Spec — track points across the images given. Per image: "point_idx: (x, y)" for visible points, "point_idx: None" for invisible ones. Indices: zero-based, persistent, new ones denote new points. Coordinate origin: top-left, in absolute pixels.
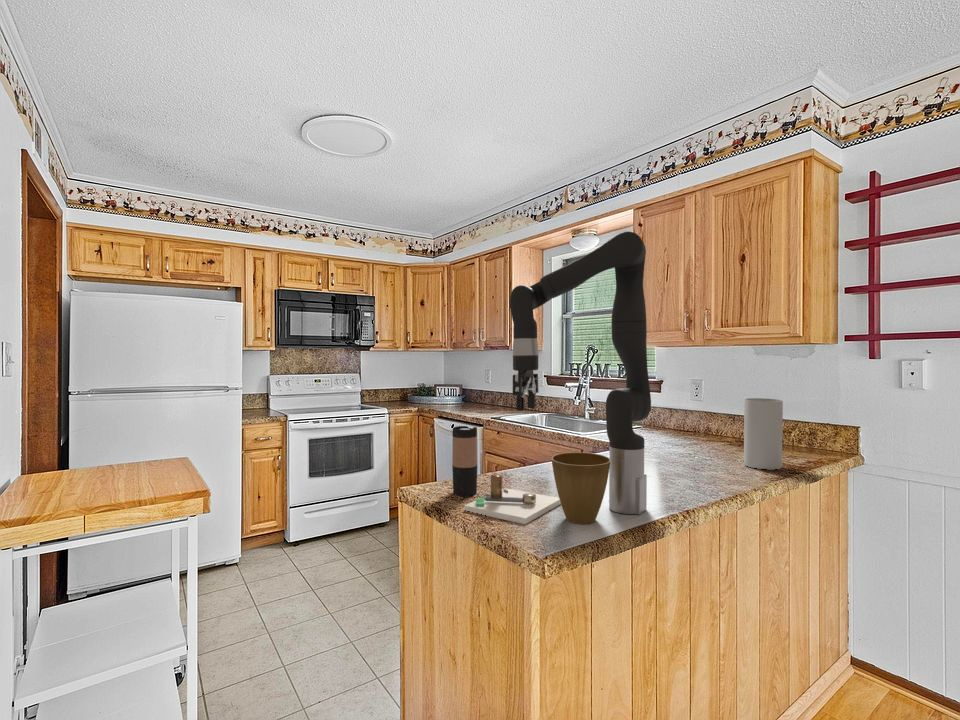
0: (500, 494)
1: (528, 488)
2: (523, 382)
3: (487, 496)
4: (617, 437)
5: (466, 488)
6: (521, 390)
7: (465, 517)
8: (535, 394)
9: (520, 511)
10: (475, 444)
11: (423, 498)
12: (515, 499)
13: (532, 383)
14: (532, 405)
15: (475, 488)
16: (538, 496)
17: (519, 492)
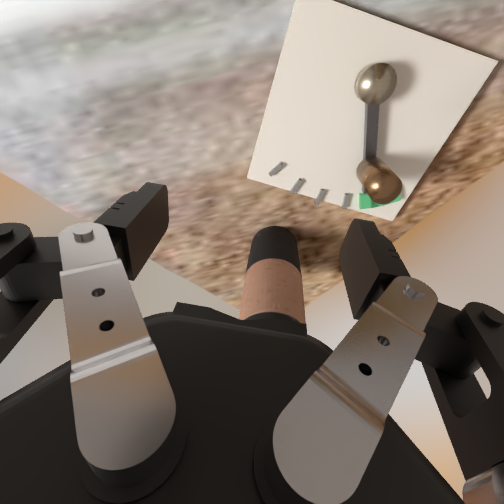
0: (382, 161)
1: (188, 129)
2: (404, 434)
3: (365, 190)
4: None
5: (295, 245)
6: (502, 346)
7: (429, 203)
8: (93, 228)
9: (437, 90)
10: (280, 296)
11: (322, 292)
12: (377, 121)
13: (148, 341)
14: (160, 204)
15: (277, 232)
16: (296, 73)
17: (272, 135)
